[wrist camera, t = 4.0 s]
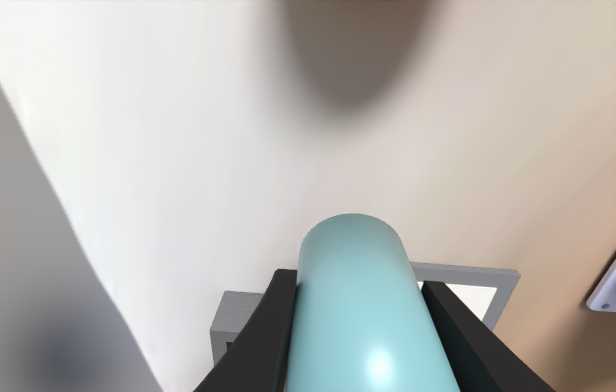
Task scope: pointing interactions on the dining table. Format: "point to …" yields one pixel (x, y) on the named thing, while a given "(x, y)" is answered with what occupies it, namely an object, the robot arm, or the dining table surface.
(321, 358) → the marker
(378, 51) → the dining table surface
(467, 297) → the board
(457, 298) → the robot arm
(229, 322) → the button housing
